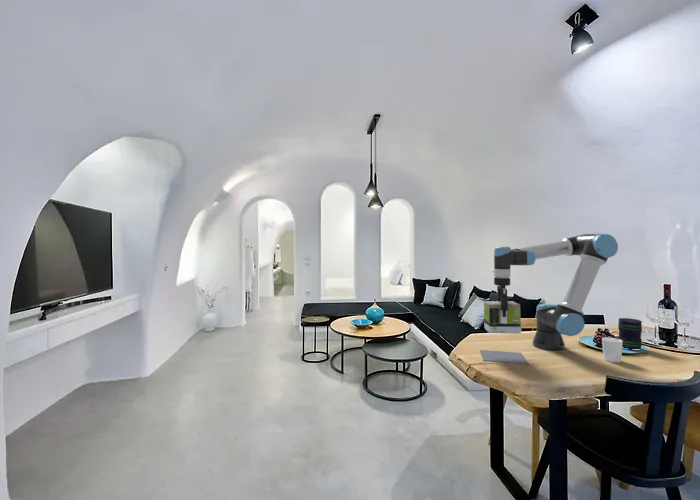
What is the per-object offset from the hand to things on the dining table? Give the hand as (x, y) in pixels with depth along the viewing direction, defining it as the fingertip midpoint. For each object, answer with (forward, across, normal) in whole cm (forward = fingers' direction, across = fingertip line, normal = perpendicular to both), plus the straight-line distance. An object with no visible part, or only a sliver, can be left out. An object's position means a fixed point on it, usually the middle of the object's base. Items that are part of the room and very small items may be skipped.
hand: (501, 320), depth 174 cm
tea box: (+6, 0, 0) cm, 6 cm away
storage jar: (+18, -29, +68) cm, 76 cm away
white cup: (+18, -4, +50) cm, 53 cm away
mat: (+18, +2, 0) cm, 18 cm away
